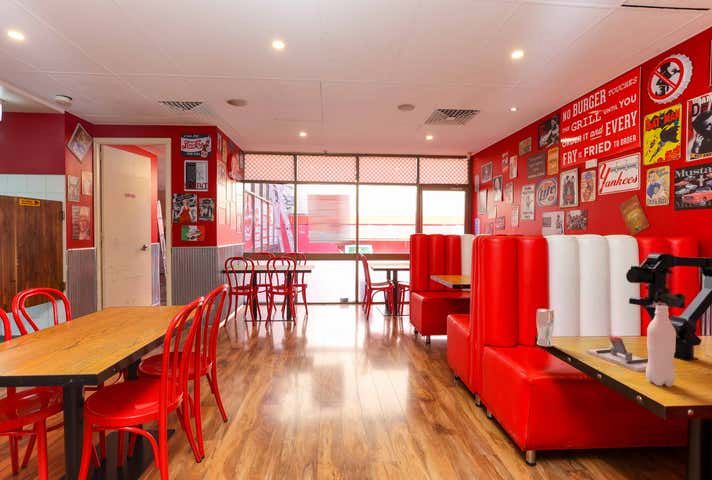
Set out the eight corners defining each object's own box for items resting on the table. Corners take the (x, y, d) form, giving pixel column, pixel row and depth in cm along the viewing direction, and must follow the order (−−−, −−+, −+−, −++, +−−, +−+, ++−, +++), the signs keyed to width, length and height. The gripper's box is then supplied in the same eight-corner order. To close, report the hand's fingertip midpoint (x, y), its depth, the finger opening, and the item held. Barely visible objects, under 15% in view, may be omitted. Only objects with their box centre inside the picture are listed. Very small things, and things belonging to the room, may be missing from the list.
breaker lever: (618, 350, 139) (611, 334, 138) (628, 353, 135) (621, 337, 134) (615, 352, 138) (608, 336, 137) (625, 356, 134) (618, 339, 133)
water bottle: (639, 379, 118) (641, 304, 118) (659, 379, 119) (661, 304, 118) (660, 388, 111) (662, 308, 111) (681, 388, 112) (683, 308, 111)
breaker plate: (609, 350, 148) (609, 341, 148) (662, 368, 129) (662, 358, 128) (586, 352, 145) (586, 343, 145) (636, 371, 125) (636, 360, 125)
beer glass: (549, 342, 158) (550, 309, 158) (556, 347, 151) (557, 312, 151) (533, 341, 159) (533, 308, 159) (539, 346, 152) (540, 311, 152)
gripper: (654, 285, 132) (652, 327, 131) (700, 288, 133) (699, 330, 133) (628, 282, 143) (627, 321, 142) (671, 285, 144) (670, 324, 144)
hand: (655, 324), depth 140 cm, fingers closed
